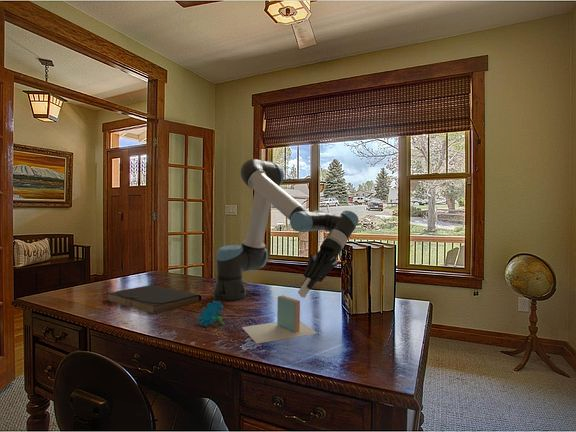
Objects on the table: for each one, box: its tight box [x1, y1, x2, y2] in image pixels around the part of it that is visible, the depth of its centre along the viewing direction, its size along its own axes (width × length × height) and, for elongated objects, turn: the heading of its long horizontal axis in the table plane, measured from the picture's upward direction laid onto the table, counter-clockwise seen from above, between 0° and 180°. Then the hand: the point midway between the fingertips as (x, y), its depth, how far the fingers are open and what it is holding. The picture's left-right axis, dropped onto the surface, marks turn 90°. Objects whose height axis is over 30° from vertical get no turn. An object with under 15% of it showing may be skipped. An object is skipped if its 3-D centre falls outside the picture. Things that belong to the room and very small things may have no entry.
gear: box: [197, 300, 225, 328], centre depth 116 cm, size 11×6×10 cm
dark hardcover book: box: [106, 284, 202, 315], centre depth 144 cm, size 33×4×24 cm
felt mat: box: [241, 320, 318, 344], centre depth 109 cm, size 15×21×1 cm
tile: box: [276, 295, 301, 332], centre depth 110 cm, size 2×9×10 cm, turn 40°
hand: (301, 295), depth 113 cm, fingers closed
